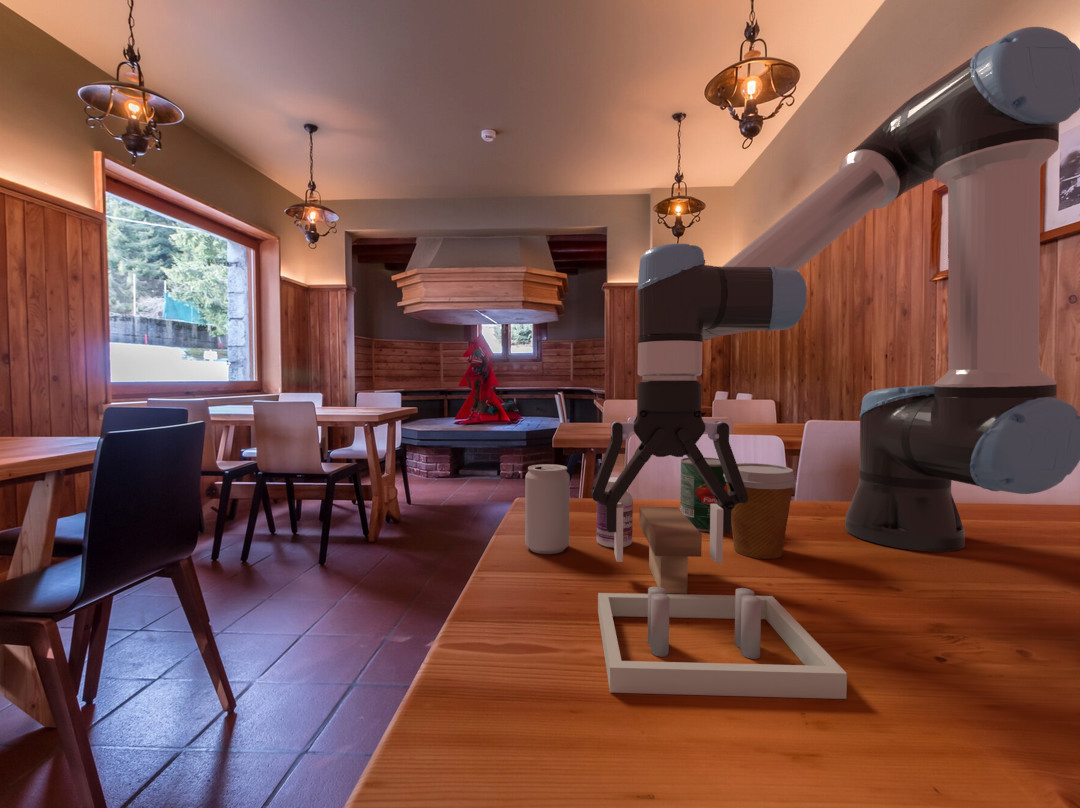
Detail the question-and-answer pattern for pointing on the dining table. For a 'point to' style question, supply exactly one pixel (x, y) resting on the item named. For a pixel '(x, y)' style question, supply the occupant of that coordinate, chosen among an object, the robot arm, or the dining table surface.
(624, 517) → the pill bottle
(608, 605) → the peg frame
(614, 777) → the dining table surface
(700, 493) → the canned tomato
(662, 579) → the stand block
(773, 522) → the disposable coffee cup
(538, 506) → the beverage can
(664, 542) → the board
